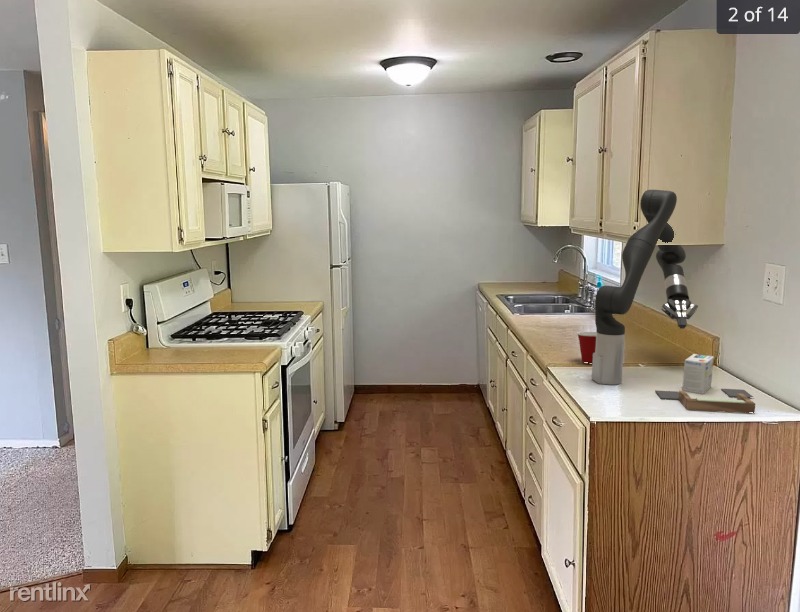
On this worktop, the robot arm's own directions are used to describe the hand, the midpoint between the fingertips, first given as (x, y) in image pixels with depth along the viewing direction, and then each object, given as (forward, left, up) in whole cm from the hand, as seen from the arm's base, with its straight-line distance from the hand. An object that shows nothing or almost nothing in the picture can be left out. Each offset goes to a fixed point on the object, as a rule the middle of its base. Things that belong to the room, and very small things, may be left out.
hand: (682, 327), depth 223 cm
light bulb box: (-6, -21, -17) cm, 28 cm away
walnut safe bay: (-11, -39, -17) cm, 44 cm away
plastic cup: (-28, +16, -17) cm, 36 cm away
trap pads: (-8, -28, -17) cm, 33 cm away
